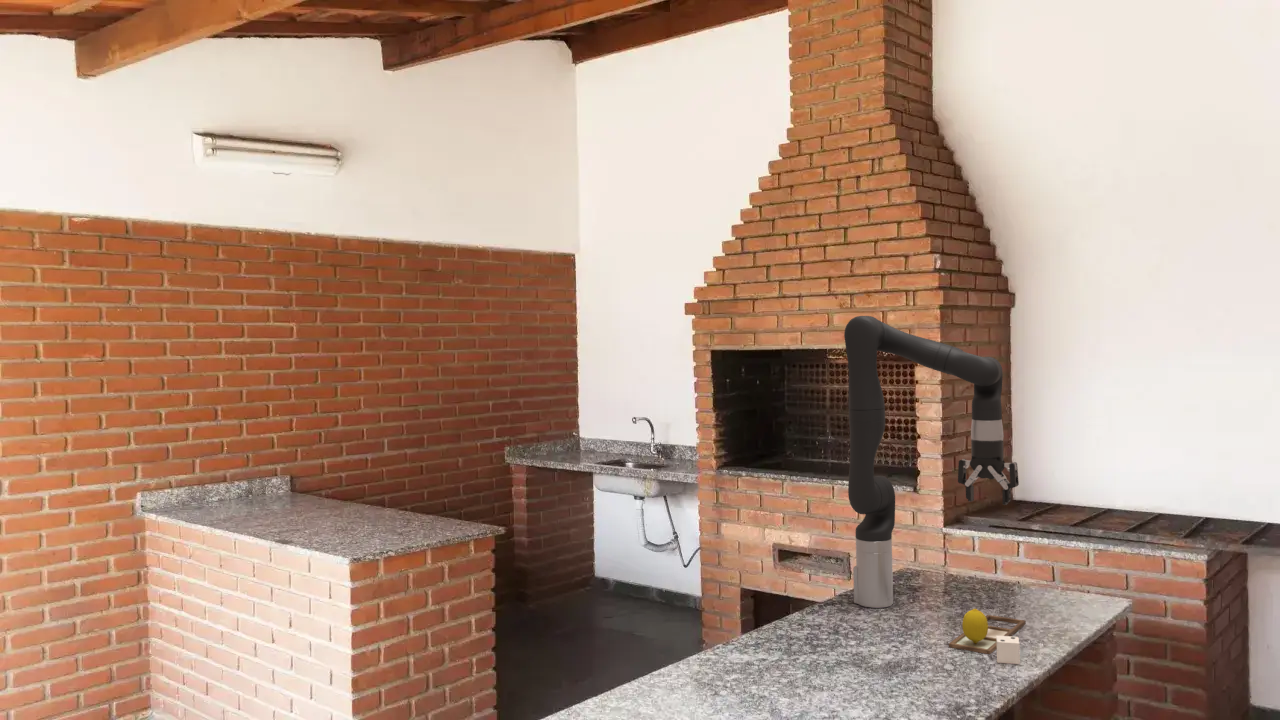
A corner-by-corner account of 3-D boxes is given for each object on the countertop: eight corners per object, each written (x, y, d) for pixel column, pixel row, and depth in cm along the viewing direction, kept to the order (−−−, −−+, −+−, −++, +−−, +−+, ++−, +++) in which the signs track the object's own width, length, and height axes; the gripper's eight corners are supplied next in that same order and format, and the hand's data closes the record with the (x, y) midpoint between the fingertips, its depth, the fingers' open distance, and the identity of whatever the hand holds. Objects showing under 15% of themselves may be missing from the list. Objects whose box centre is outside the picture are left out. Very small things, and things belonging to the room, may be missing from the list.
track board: (948, 647, 224) (948, 643, 224) (987, 617, 244) (987, 614, 244) (989, 654, 218) (989, 650, 218) (1025, 623, 239) (1025, 620, 239)
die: (997, 662, 213) (997, 641, 213) (996, 655, 217) (996, 635, 217) (1019, 664, 211) (1019, 643, 211) (1018, 657, 216) (1018, 636, 216)
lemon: (985, 639, 227) (984, 605, 227) (990, 647, 222) (990, 612, 221) (960, 639, 228) (959, 604, 227) (965, 647, 222) (964, 612, 222)
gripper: (953, 437, 247) (954, 502, 248) (1011, 440, 238) (1012, 507, 239) (964, 434, 253) (965, 497, 253) (1021, 437, 244) (1022, 502, 245)
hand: (988, 502), depth 246 cm, fingers open, 8 cm apart
